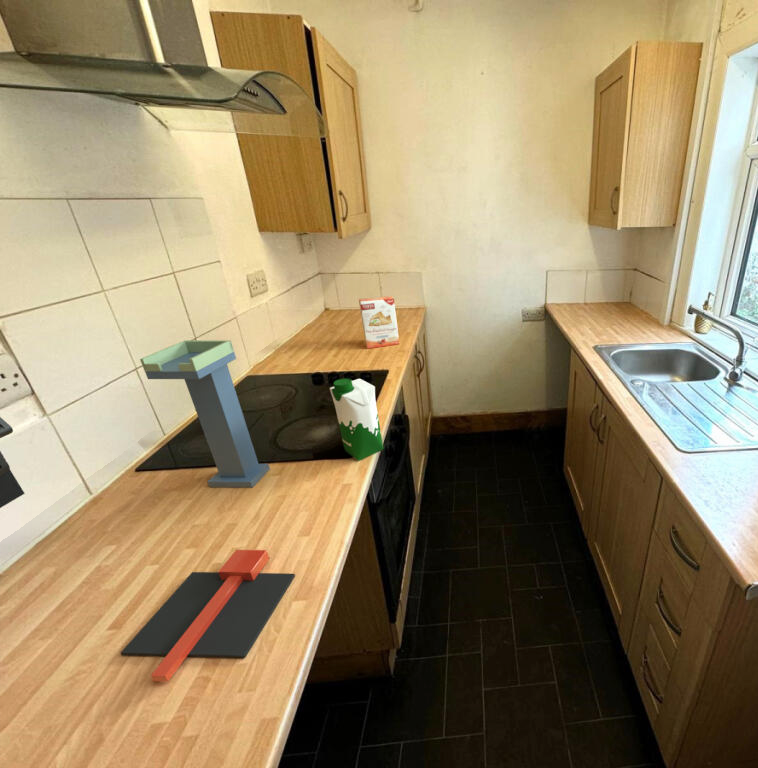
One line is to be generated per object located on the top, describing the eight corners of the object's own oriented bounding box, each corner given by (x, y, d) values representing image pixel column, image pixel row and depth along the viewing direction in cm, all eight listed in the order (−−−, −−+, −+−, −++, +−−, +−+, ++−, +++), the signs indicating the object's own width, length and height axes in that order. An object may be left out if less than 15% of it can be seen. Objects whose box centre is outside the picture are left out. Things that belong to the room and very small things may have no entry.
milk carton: (339, 451, 107) (324, 379, 98) (371, 437, 113) (359, 369, 104) (356, 464, 101) (341, 390, 93) (389, 449, 107) (377, 378, 99)
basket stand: (196, 499, 90) (139, 359, 77) (229, 468, 100) (184, 340, 87) (241, 499, 90) (192, 358, 76) (270, 469, 100) (230, 340, 87)
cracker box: (367, 349, 179) (359, 301, 171) (365, 345, 184) (357, 298, 176) (400, 344, 184) (394, 297, 176) (397, 340, 189) (391, 295, 181)
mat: (121, 655, 59) (119, 652, 59) (193, 574, 72) (192, 571, 72) (245, 658, 58) (243, 655, 58) (295, 576, 71) (294, 573, 71)
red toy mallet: (140, 681, 55) (134, 671, 55) (239, 557, 74) (236, 549, 73) (181, 682, 55) (175, 672, 54) (269, 558, 74) (267, 550, 73)
